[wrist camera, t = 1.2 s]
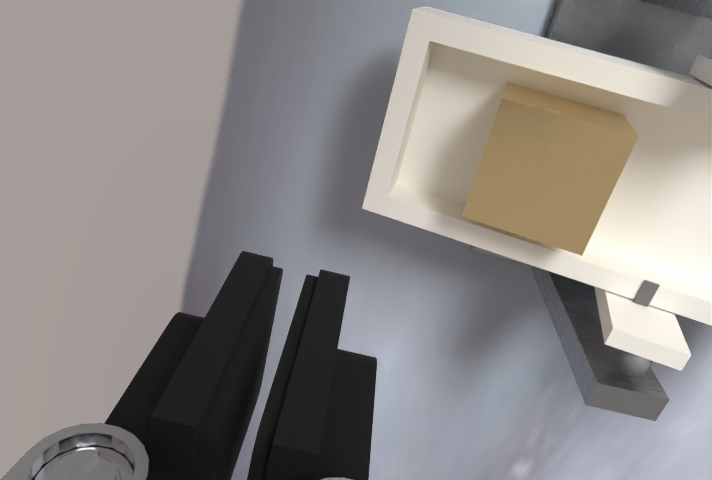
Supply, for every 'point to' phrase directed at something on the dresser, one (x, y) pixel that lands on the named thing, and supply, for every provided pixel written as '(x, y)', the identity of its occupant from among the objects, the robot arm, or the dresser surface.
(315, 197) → the dresser surface
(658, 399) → the stand
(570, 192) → the block
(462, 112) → the beam
